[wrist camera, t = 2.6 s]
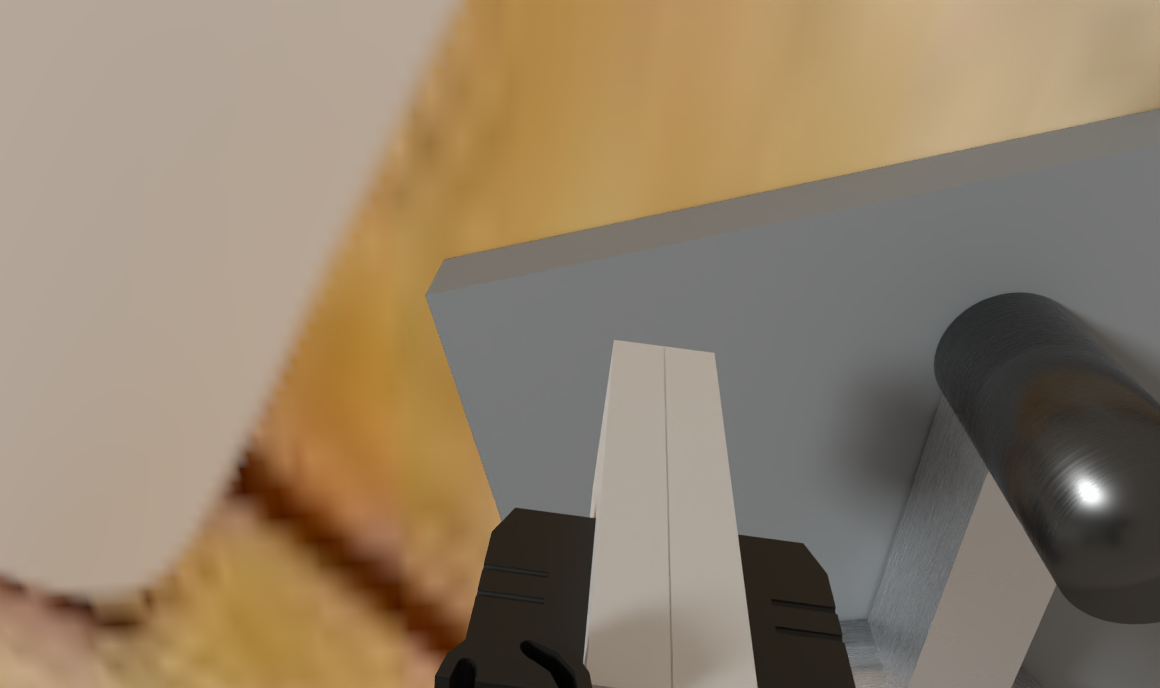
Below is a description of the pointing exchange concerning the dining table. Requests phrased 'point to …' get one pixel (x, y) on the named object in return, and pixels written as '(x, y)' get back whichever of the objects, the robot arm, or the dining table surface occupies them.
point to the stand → (820, 340)
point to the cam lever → (1016, 503)
